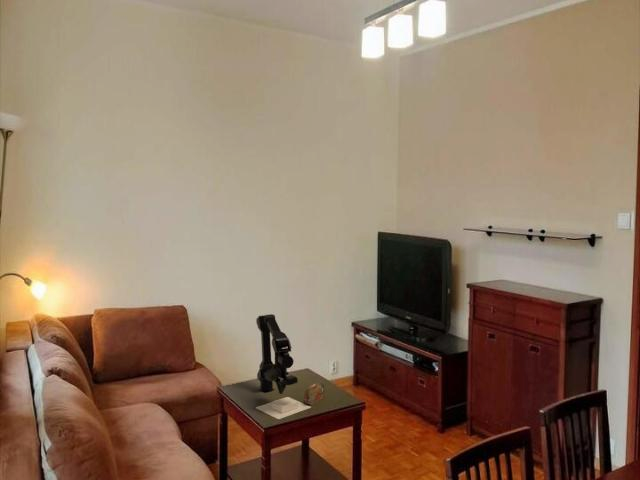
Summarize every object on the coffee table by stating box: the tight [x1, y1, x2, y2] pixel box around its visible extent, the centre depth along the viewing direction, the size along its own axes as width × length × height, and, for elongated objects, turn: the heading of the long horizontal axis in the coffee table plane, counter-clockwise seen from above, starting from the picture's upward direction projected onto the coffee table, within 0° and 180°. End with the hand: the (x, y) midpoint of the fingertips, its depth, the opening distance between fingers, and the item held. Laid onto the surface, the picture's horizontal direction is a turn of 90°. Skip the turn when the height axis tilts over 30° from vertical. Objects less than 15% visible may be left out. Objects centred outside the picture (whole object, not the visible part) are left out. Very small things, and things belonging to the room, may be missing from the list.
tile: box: [271, 396, 300, 413], centre depth 254 cm, size 3×10×8 cm
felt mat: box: [255, 396, 312, 420], centre depth 255 cm, size 18×20×1 cm
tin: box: [304, 382, 325, 406], centre depth 263 cm, size 15×3×8 cm, turn 148°
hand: (281, 393), depth 255 cm, fingers closed
